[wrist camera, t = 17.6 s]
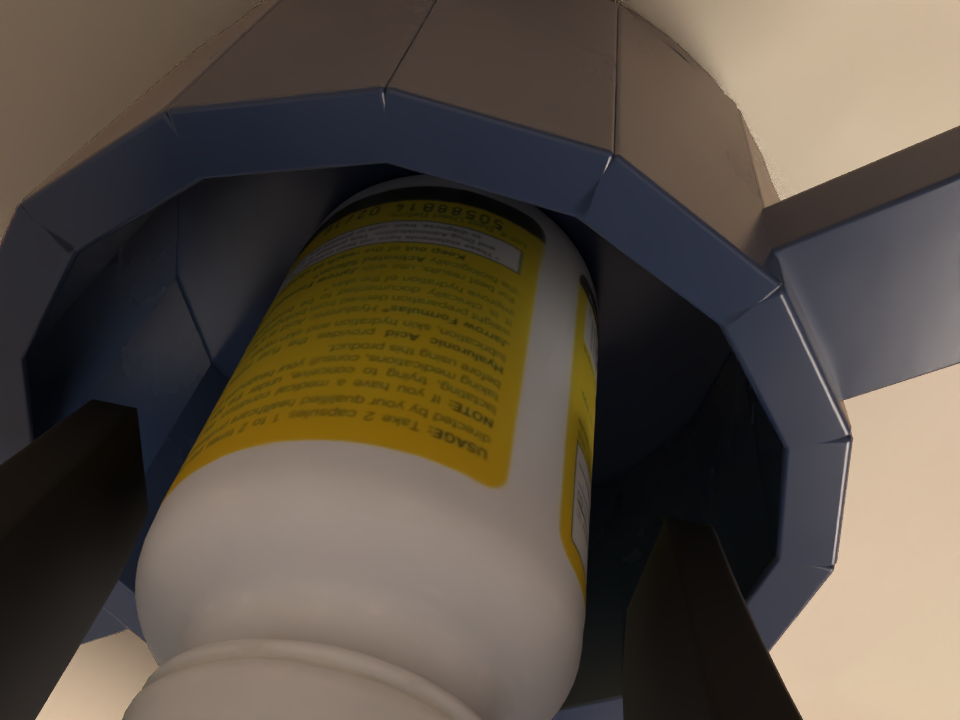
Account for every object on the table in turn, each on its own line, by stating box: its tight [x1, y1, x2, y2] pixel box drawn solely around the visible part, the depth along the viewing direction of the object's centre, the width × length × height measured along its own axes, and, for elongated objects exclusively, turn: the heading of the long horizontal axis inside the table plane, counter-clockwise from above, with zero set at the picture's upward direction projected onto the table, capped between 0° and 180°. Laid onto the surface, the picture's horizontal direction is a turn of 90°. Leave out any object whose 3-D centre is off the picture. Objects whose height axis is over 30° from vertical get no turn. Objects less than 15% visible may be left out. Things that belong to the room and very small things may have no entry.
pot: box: [0, 0, 960, 720], centre depth 14 cm, size 12×17×6 cm
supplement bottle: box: [122, 174, 599, 720], centre depth 12 cm, size 5×5×10 cm
